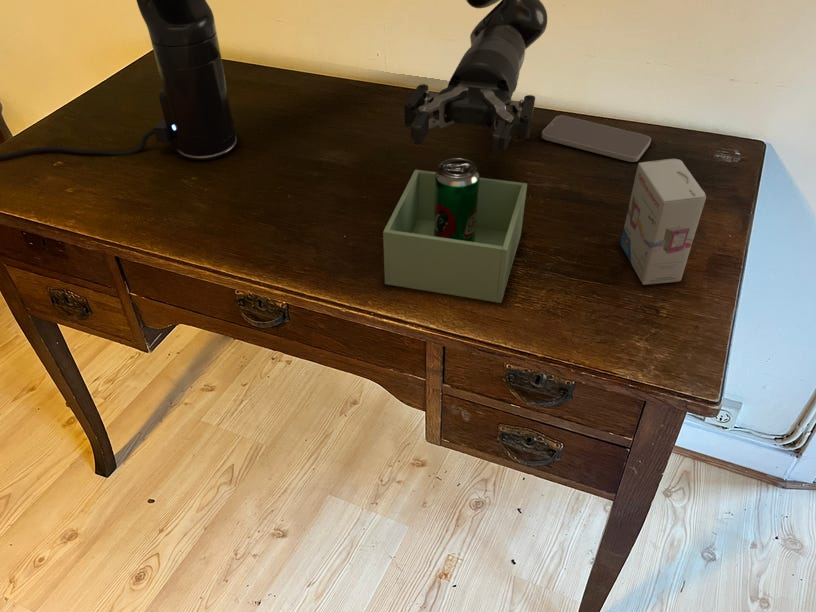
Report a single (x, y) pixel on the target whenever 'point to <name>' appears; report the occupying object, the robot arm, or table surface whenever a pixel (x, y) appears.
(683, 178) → the ink box
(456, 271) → the open storage box
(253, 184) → the table surface
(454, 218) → the soda can
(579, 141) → the smartphone
